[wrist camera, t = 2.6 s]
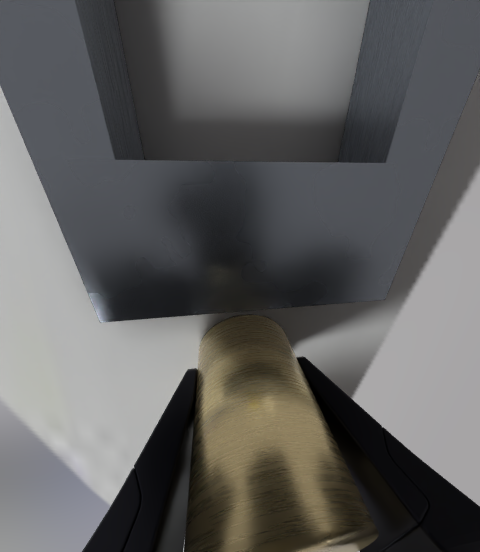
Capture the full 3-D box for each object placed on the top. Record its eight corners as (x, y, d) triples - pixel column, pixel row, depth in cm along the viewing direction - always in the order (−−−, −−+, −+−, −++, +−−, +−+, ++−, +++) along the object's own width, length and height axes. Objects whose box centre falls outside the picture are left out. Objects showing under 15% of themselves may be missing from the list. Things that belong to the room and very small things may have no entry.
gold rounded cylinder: (282, 374, 11) (349, 561, 6) (203, 383, 10) (193, 600, 5) (291, 311, 9) (411, 510, 4) (194, 318, 8) (163, 566, 3)
